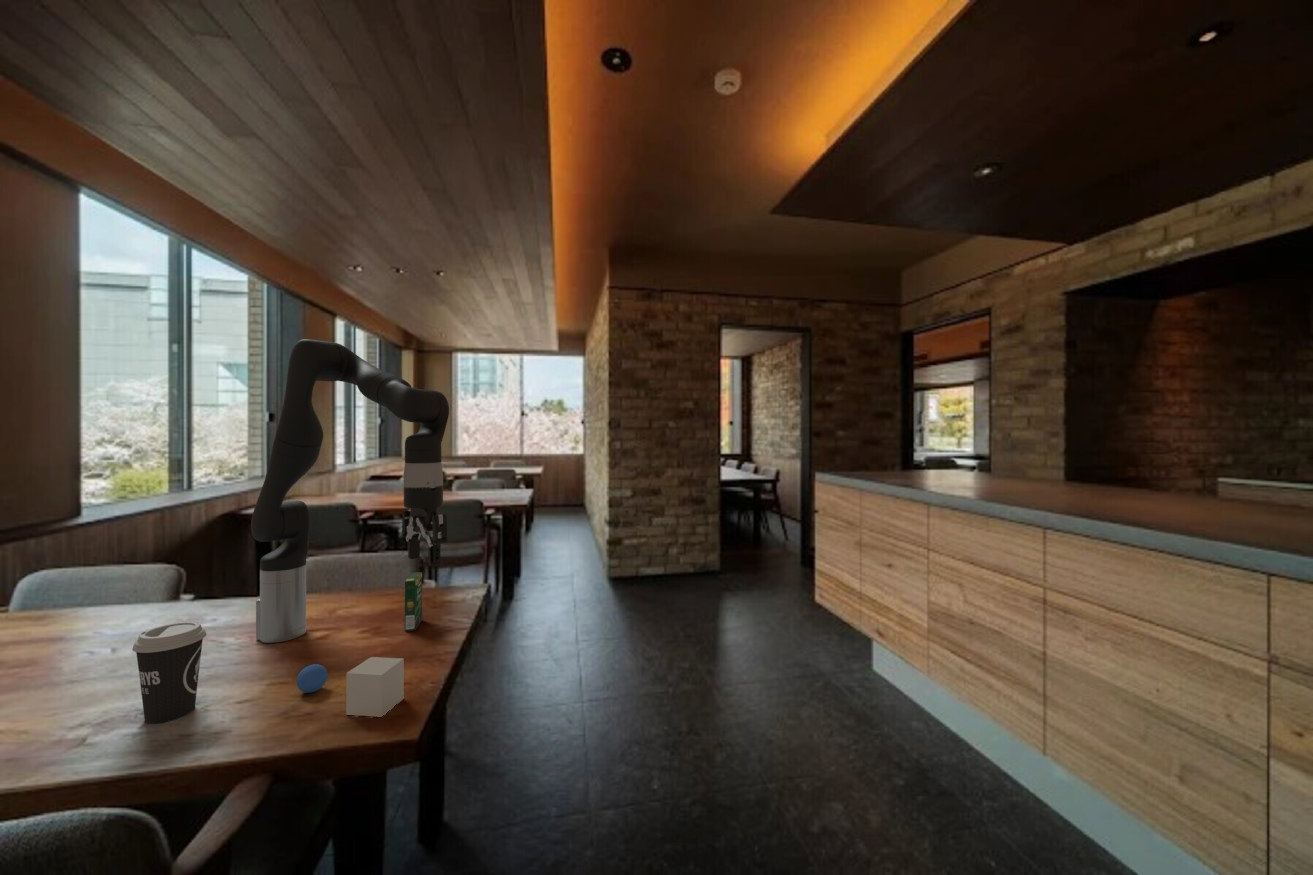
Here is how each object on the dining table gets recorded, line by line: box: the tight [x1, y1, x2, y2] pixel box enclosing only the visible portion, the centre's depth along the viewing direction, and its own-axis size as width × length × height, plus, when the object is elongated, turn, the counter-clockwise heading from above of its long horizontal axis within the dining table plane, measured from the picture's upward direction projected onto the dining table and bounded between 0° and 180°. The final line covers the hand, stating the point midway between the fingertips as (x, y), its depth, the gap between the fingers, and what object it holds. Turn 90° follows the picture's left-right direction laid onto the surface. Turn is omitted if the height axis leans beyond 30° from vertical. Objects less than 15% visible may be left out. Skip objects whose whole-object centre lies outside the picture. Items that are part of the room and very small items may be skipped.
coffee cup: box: [131, 621, 207, 724], centre depth 90 cm, size 10×10×15 cm
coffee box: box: [404, 571, 423, 632], centre depth 132 cm, size 8×3×13 cm, turn 13°
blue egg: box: [296, 663, 329, 693], centre depth 98 cm, size 5×5×5 cm
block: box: [345, 656, 405, 718], centre depth 93 cm, size 7×7×8 cm
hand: (424, 561), depth 106 cm, fingers open, 8 cm apart
